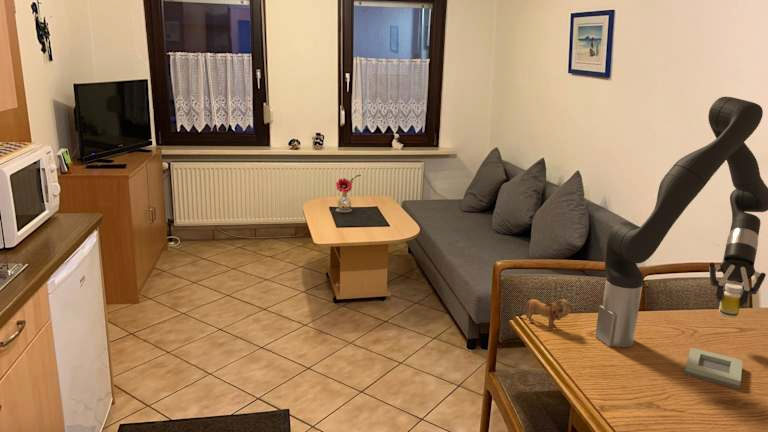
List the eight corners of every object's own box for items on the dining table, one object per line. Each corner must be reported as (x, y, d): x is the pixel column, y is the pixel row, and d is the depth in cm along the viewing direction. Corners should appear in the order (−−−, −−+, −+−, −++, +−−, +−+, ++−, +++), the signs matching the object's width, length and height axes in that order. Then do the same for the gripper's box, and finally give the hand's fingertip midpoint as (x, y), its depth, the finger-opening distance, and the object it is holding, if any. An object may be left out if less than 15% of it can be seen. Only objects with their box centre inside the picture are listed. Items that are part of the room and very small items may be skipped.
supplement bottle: (740, 318, 165) (746, 290, 163) (721, 316, 166) (727, 288, 164) (734, 311, 170) (740, 283, 167) (715, 309, 171) (721, 281, 168)
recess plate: (739, 389, 148) (740, 381, 147) (684, 374, 153) (685, 366, 153) (740, 367, 158) (742, 360, 157) (689, 354, 163) (690, 347, 163)
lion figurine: (569, 327, 177) (573, 298, 174) (564, 334, 173) (567, 304, 170) (521, 314, 185) (523, 286, 182) (514, 320, 180) (517, 292, 178)
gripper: (713, 236, 172) (702, 290, 166) (773, 247, 165) (763, 303, 159) (711, 249, 178) (700, 301, 172) (768, 260, 171) (759, 315, 165)
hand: (730, 302), depth 165 cm, fingers closed on supplement bottle, 4 cm apart
